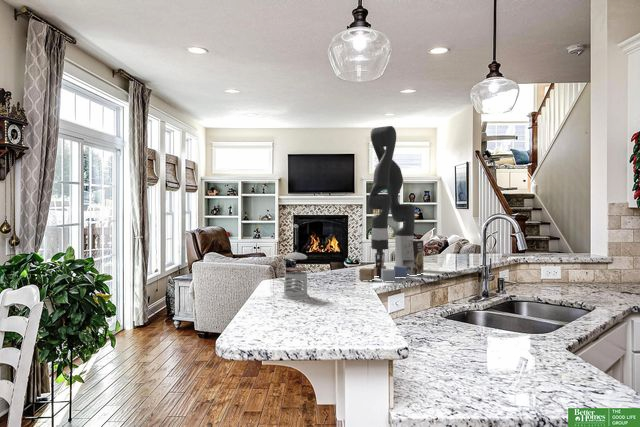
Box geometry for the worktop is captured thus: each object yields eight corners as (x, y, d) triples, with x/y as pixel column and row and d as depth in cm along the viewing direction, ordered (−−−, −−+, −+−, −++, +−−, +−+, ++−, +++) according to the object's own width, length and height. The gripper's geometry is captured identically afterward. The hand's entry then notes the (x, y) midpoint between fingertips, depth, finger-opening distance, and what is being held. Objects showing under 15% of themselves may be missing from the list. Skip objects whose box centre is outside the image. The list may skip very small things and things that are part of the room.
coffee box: (415, 277, 201) (415, 241, 201) (402, 276, 205) (402, 240, 205) (424, 274, 208) (424, 240, 208) (411, 273, 212) (411, 239, 212)
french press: (306, 299, 149) (306, 224, 149) (273, 298, 151) (272, 224, 151) (312, 294, 159) (312, 224, 159) (281, 293, 161) (281, 223, 161)
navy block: (394, 277, 202) (393, 266, 202) (405, 277, 201) (405, 266, 201) (395, 278, 197) (395, 267, 197) (406, 278, 196) (406, 267, 196)
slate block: (381, 280, 192) (381, 268, 192) (392, 280, 192) (392, 268, 192) (383, 282, 187) (383, 270, 187) (395, 282, 187) (395, 270, 187)
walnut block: (362, 279, 195) (362, 268, 195) (373, 280, 193) (373, 268, 193) (359, 281, 190) (359, 269, 190) (370, 281, 188) (370, 270, 188)
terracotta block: (374, 276, 204) (374, 265, 204) (386, 276, 203) (385, 265, 203) (373, 278, 199) (373, 266, 199) (385, 278, 198) (385, 267, 198)
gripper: (373, 237, 209) (373, 274, 209) (369, 239, 195) (369, 278, 195) (389, 237, 207) (389, 274, 207) (386, 239, 193) (386, 278, 193)
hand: (379, 276), depth 201 cm, fingers open, 5 cm apart
